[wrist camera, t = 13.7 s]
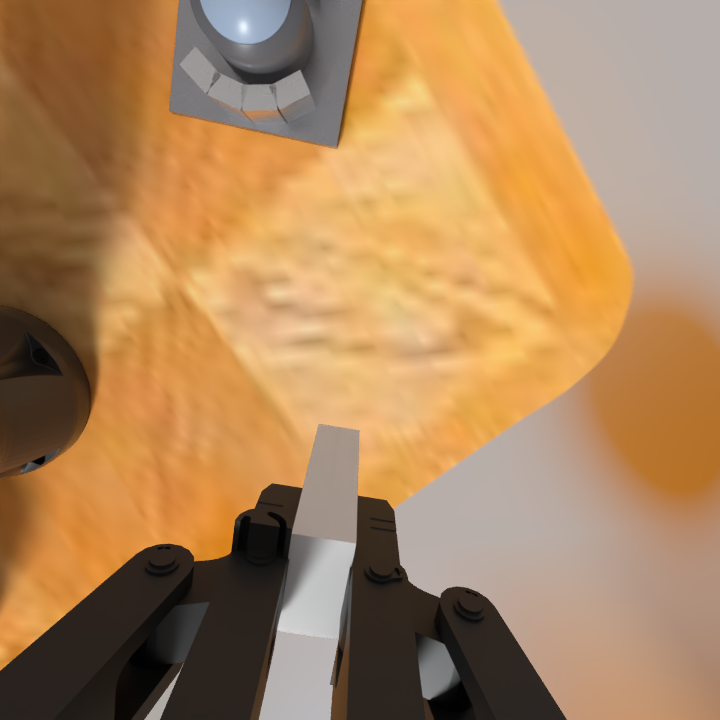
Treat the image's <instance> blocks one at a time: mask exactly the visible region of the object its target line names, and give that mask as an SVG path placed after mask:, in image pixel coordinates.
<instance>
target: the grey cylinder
mask: <svg viewBox="0 0 720 720" xmlns="http://www.w3.org/2000/svg"><path fill="white" fill-rule="evenodd" d="M190 3H191V7H192V11H193V14H194V16H195V19H196V21H197V23H198V25H199V27H200V28H201V30H202V31H203V33H204V34H205V35H206V37H207V38H208V39H209V40H210V42H211V43H212V44H213V46H214V47H215V48H216V49H217V51H218V52H219V53H220V54H221V56H222V57H223V58H224V60H225V61H226V62H227V63H228V65H229V66H230V67H231V68H232V70H233V71H234V72H235V73H236V74H237V75H238V76H239V77H241V78H242V79H243V80H245V81H246V82H248V83H250V84H253V85H265V84H274V83H276V82H278V81H280V80H281V79H283V78H285V77H287V76H289V75H291V74H293V73H295V72H297V71H299V70H301V71H302V70H303V69H304V67H305V66H306V64H307V62H308V60H309V58H310V55H311V52H312V47H313V40H314V31H313V24H312V20H311V15H310V11H309V7H308V3H307V0H190Z"/></svg>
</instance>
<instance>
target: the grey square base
mask: <svg viewBox="0 0 720 720" xmlns="http://www.w3.org/2000/svg"><path fill="white" fill-rule="evenodd" d="M307 3H308V7H309V11H310V15H311V20H312V24H313V31H314V40H313V47H312V52H311V55H310V58H309V60H308V62H307V64H306V66H305V67H304V69H303V70H302V71H301V70H299V71H297V72H295V73H293V74H291V75H289V76H287V77H285V78H283V79H281V80H280V81H278V82H276V83H274V84H265V85H253V84H250V83H248V82H246V81H245V80H243V79H242V78H241V77H239V76H238V75H237V74H236V73H235V72H234V71H233V70H232V68H231V67H230V66H229V65H228V63H227V62H226V61H225V60H224V58H223V57H222V56H221V54H220V53H219V52H218V51H217V49H216V48H215V47H214V46H213V44H212V43H211V42H210V40H209V39H208V38H207V37H206V35H205V34H204V33H203V31H202V30H201V28H200V27H199V25H198V23H197V21H196V19H195V16H194V14H193V11H192V7H191V3H190V0H179V8H178V20H177V31H176V42H175V53H174V64H173V75H172V86H171V97H170V108H169V111H170V112H172V113H173V114H177V115H182V116H186V117H191V118H196V119H200V120H205V121H210V122H214V123H219V124H224V125H228V126H233V127H237V128H242V129H247V130H251V131H256V132H261V133H265V134H270V135H274V136H279V137H284V138H288V139H293V140H298V141H302V142H307V143H312V144H316V145H321V146H325V147H330V148H335V149H337V145H338V140H339V134H340V128H341V122H342V117H343V111H344V105H345V100H346V94H347V88H348V83H349V77H350V71H351V65H352V60H353V54H354V48H355V43H356V37H357V31H358V25H359V20H360V14H361V8H362V3H363V0H307Z"/></svg>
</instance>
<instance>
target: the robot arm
mask: <svg viewBox="0 0 720 720" xmlns="http://www.w3.org/2000/svg"><path fill="white" fill-rule="evenodd" d="M89 410H90V391H89V385H88V381H87V377H86V374H85V371H84V369H83V367H82V364H81V362H80V360H79V359H78V357H77V355H76V354H75V352H74V351H73V349H72V348H71V347H70V345H69V344H68V343H67V342H66V341H65V340H64V338H63V337H62V336H61V335H60V334H58V333H57V332H56V331H55V330H54V329H53V328H51V327H50V326H49V325H47V324H46V323H45V322H43V321H41V320H40V319H38V318H36V317H34V316H32V315H30V314H28V313H26V312H23V311H20V310H17V309H14V308H10V307H5V306H0V479H4V478H9V477H13V476H17V475H21V474H25V473H28V472H31V471H34V470H36V469H38V468H41V467H43V466H45V465H46V464H48V463H50V462H51V461H53V460H54V459H55V458H57V457H58V456H60V455H61V454H63V453H64V452H65V451H67V450H68V449H69V448H70V447H71V446H72V445H73V444H74V443H75V442H76V441H77V439H78V438H79V437H80V435H81V433H82V432H83V430H84V427H85V425H86V422H87V419H88V415H89ZM358 462H359V430H353V429H347V428H341V427H335V426H329V425H323V424H319V425H318V429H317V433H316V437H315V441H314V445H313V449H312V453H311V457H310V461H309V465H308V469H307V473H306V477H305V481H304V485H303V488H298V487H292V486H285V485H279V484H273V483H272V484H271V485H269V486H268V487H267V488H265V489H264V490H263V491H262V492H261V495H260V497H259V499H258V503H257V504H256V507H255V509H250V510H247V511H245V512H243V513H241V514H240V515H239V516H238V517H237V518H236V520H235V526H234V534H233V543H232V551H231V553H230V554H229V555H227V556H225V557H222V558H219V559H214V560H208V561H195V562H194V556H193V555H192V554H191V552H190V551H189V550H188V549H186V548H184V547H182V546H179V545H174V544H160V545H155V546H152V547H148V548H145V549H144V550H142V551H141V552H139V553H137V554H136V555H135V556H134V557H132V558H131V559H130V560H129V561H128V562H127V563H125V564H124V565H123V566H122V567H121V568H120V569H118V570H117V571H116V572H115V573H114V574H113V575H111V576H110V577H109V578H108V579H107V580H106V581H104V582H103V583H102V584H101V585H100V586H99V587H97V588H96V589H95V590H94V591H93V592H92V593H90V594H89V595H88V596H87V597H86V598H85V599H83V600H82V601H81V602H80V603H79V604H78V605H76V606H75V607H74V608H73V609H72V610H71V611H69V612H68V613H67V614H66V615H65V616H64V617H63V618H61V619H60V620H59V621H58V622H57V623H56V624H54V625H53V626H52V627H51V628H50V629H49V630H47V631H46V632H45V633H44V634H43V635H42V636H40V637H39V638H38V639H37V640H36V641H35V642H33V643H32V644H31V645H30V646H29V647H28V648H26V649H25V650H24V651H23V652H22V653H21V654H19V655H18V656H17V657H16V658H15V659H14V660H12V661H11V662H10V663H9V664H8V665H7V666H5V667H4V668H3V669H2V670H1V671H0V720H144V719H145V718H146V716H147V715H148V714H149V712H150V711H151V710H152V708H153V707H154V705H155V704H156V703H157V701H158V700H159V699H160V697H161V696H162V694H163V693H164V692H165V690H166V689H167V688H168V686H169V685H170V683H171V682H172V681H173V679H174V678H175V677H176V675H177V674H178V672H179V671H180V669H181V667H182V665H183V667H182V669H181V672H180V674H179V676H178V678H177V681H176V683H175V685H174V688H173V690H172V693H171V695H170V697H169V700H168V702H167V704H166V707H165V709H164V712H163V714H162V716H161V719H160V720H259V715H260V710H261V706H262V701H263V697H264V692H265V688H266V683H267V679H268V674H269V669H270V665H271V660H272V656H273V651H274V644H275V639H276V632H277V631H282V632H289V633H296V634H302V635H309V636H316V637H322V638H330V639H336V640H337V639H338V635H339V641H338V646H337V651H336V657H335V661H334V667H333V672H332V677H331V682H330V685H333V694H332V707H331V720H566V718H565V716H564V715H563V713H562V711H561V710H560V708H559V707H558V705H557V704H556V702H555V701H554V699H553V697H552V696H551V694H550V693H549V691H548V689H547V688H546V686H545V685H544V683H543V682H542V680H541V678H540V677H539V675H538V674H537V672H536V671H535V669H534V667H533V666H532V664H531V663H530V661H529V660H528V658H527V657H526V655H525V653H524V652H523V650H522V649H521V647H520V645H519V644H518V642H517V641H516V639H515V638H514V636H513V635H512V633H511V632H510V630H509V628H508V627H507V625H506V623H505V622H504V620H503V619H502V617H501V616H500V614H499V613H498V611H497V609H496V608H495V606H494V605H493V604H492V603H491V602H490V601H489V600H488V599H487V598H486V597H484V596H483V595H482V594H480V593H478V592H476V591H474V590H471V589H469V588H464V587H452V588H447V589H446V590H445V591H444V592H443V593H441V597H440V598H439V597H437V596H434V595H431V594H429V593H427V592H424V591H423V590H421V589H419V588H417V587H416V586H414V585H413V584H411V583H410V582H409V581H408V577H407V574H406V572H405V569H404V568H403V567H402V566H401V565H400V560H399V552H398V551H399V550H398V541H397V534H396V524H395V514H394V510H393V509H392V507H391V506H390V504H389V503H388V502H387V500H381V499H375V498H369V497H362V496H358ZM183 663H184V664H183Z"/></svg>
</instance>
